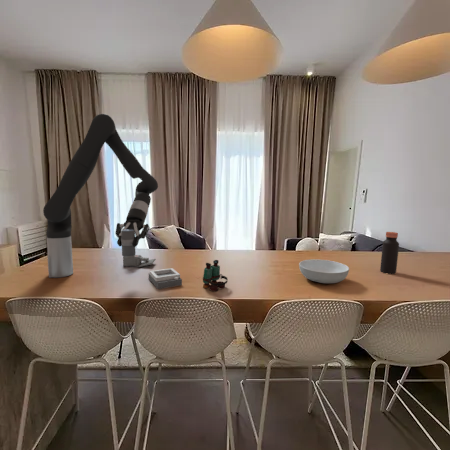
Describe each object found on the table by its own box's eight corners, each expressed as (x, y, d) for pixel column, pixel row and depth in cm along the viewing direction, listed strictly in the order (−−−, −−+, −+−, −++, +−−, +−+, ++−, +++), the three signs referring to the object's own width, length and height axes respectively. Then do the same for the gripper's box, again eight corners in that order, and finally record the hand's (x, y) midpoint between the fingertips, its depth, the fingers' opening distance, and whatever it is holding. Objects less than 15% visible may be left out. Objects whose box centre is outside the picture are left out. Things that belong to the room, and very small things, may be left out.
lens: (122, 257, 107) (121, 231, 105) (120, 254, 111) (119, 229, 110) (137, 255, 109) (136, 230, 108) (134, 252, 114) (133, 228, 113)
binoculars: (219, 269, 100) (200, 262, 106) (216, 295, 102) (198, 287, 108) (234, 264, 107) (215, 257, 113) (231, 289, 109) (213, 281, 115)
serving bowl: (289, 275, 126) (289, 261, 125) (325, 271, 134) (326, 257, 133) (319, 291, 107) (320, 274, 106) (359, 285, 114) (360, 269, 113)
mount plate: (157, 289, 105) (157, 279, 105) (148, 278, 117) (148, 269, 117) (181, 285, 110) (181, 275, 110) (170, 275, 122) (170, 266, 122)
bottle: (396, 272, 135) (400, 232, 132) (395, 275, 129) (400, 234, 126) (380, 269, 138) (384, 231, 136) (379, 272, 133) (383, 232, 130)
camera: (126, 241, 140) (155, 241, 141) (127, 263, 142) (155, 263, 142) (120, 244, 132) (151, 245, 132) (121, 267, 133) (151, 268, 134)
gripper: (119, 207, 116) (105, 239, 106) (151, 208, 115) (141, 240, 104) (125, 218, 122) (112, 250, 111) (156, 219, 120) (146, 251, 110)
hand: (126, 245), depth 108 cm, fingers closed on lens, 5 cm apart
